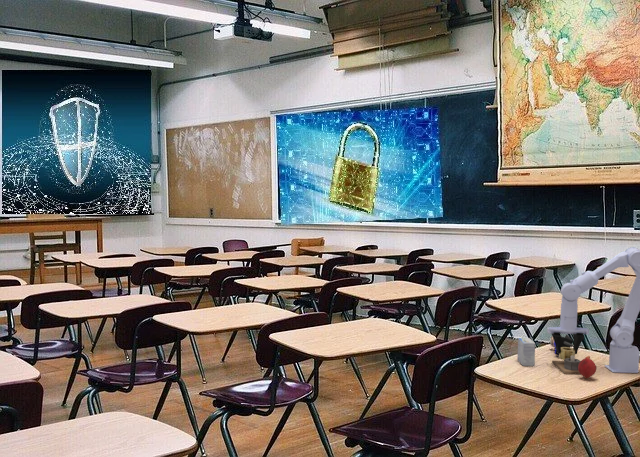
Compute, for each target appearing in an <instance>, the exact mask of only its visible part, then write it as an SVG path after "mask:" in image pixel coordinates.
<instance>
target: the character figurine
mask: <svg viewBox="0 0 640 457" xmlns="http://www.w3.org/2000/svg"><path fill="white" fill-rule="evenodd" d="M573 343H574V339H572V338H571V337H570V335H569V334H565V336H562V341H561V347H570V348H573V345H574V344H573ZM549 345H550V346H551V347H553V348H554V354H555V355H557V354H558V353H557V349H556V345H555V341H554V339H553V336H552V335H551V336H550V338H549Z"/></svg>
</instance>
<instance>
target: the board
mask: <svg viewBox="0 0 640 457" xmlns="http://www.w3.org/2000/svg"><path fill="white" fill-rule="evenodd" d="M580 361H581V360H580V359H579V358H576V355H575V356H571V358H566V359H565V360H552V361H551V364H552V365H553V366H554V367H556V368H557V369H558V370H559V371H560V372H561V373H562V374H564V375H581V374H580V373H579V371H578V366H579V363H580ZM581 376H582V375H581Z"/></svg>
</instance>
